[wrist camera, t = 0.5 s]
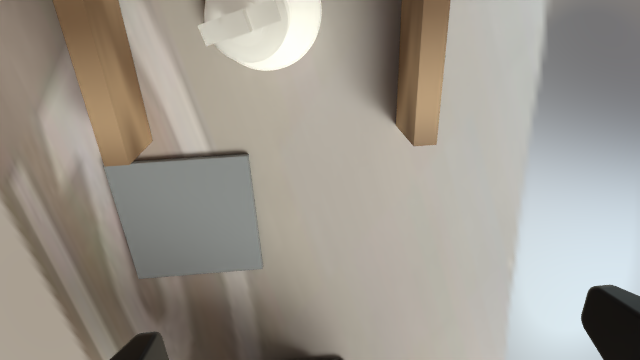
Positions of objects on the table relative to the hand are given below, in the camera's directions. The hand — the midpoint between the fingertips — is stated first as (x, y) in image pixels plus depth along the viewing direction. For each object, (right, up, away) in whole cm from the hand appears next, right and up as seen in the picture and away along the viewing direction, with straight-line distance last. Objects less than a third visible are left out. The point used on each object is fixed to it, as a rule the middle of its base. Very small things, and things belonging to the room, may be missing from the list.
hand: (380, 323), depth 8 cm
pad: (-8, +1, +12) cm, 15 cm away
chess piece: (-4, +10, +9) cm, 14 cm away
